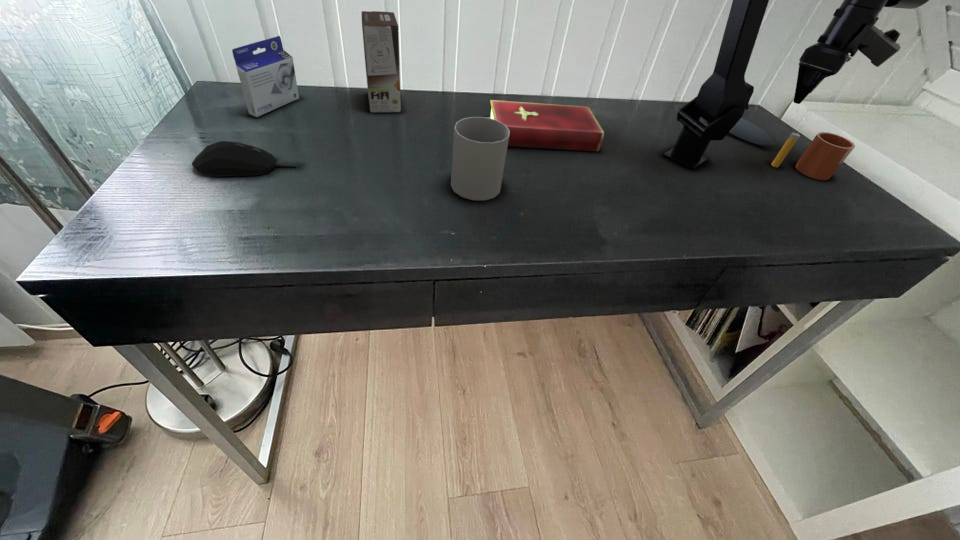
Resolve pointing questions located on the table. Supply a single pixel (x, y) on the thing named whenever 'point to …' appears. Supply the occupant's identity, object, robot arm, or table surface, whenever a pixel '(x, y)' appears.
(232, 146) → the gaming mouse
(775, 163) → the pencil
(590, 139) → the hardcover book
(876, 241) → the table surface
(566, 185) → the table surface
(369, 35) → the coffee box
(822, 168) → the pen cup
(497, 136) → the cup
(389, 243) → the table surface
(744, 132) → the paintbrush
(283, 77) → the ink box
